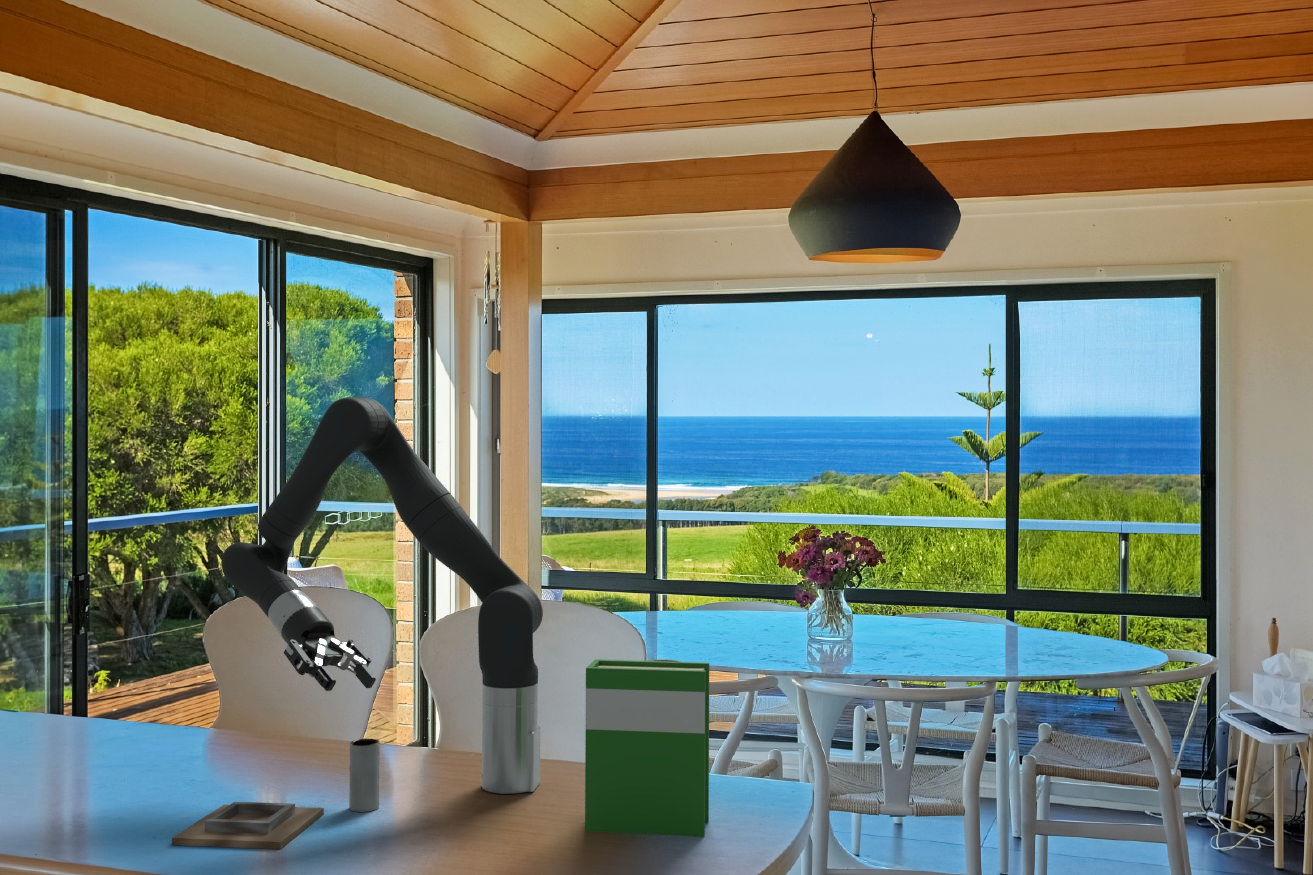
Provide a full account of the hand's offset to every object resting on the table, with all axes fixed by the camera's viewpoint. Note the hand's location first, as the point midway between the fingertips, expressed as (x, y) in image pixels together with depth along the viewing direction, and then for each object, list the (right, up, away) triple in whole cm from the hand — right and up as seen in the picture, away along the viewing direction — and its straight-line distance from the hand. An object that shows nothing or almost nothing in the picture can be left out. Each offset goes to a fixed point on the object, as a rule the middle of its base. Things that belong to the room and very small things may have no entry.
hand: (352, 685), depth 190 cm
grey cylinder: (+3, -18, -5) cm, 19 cm away
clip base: (-11, -18, -16) cm, 26 cm away
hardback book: (+48, -18, -13) cm, 53 cm away
